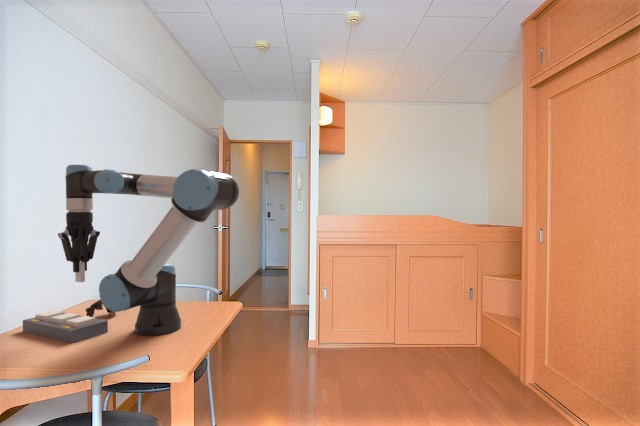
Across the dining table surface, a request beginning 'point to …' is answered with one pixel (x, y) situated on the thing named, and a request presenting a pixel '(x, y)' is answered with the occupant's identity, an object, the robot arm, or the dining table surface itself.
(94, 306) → the dark brown knobbly arch
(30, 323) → the keypad
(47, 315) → the key
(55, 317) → the key middle
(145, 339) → the dining table surface
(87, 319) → the key
